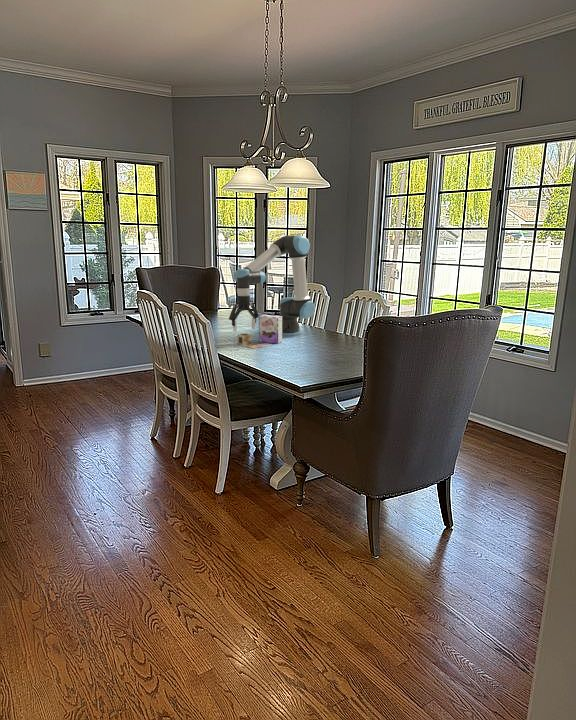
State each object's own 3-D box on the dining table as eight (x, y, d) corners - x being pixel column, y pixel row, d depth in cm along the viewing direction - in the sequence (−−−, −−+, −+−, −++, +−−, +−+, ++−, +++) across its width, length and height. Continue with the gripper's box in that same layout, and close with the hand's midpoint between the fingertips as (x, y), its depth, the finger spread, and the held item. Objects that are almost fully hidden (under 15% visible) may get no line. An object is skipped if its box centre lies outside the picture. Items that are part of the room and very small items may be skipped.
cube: (246, 342, 329) (245, 333, 328) (251, 344, 324) (251, 334, 323) (237, 344, 325) (237, 334, 324) (243, 345, 321) (242, 335, 319)
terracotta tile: (255, 345, 321) (255, 344, 321) (261, 347, 316) (261, 346, 316) (245, 346, 317) (245, 346, 317) (252, 348, 312) (252, 348, 312)
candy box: (258, 342, 331) (258, 315, 327) (263, 340, 336) (263, 314, 332) (278, 344, 325) (277, 317, 321) (282, 342, 330) (282, 316, 326)
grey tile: (266, 343, 326) (266, 342, 326) (272, 345, 321) (272, 344, 321) (256, 345, 322) (256, 344, 322) (263, 347, 316) (263, 346, 316)
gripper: (257, 293, 328) (257, 326, 333) (222, 296, 313) (223, 331, 318) (264, 294, 322) (264, 328, 327) (229, 297, 307) (230, 333, 312)
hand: (244, 330), depth 323 cm, fingers open, 13 cm apart
